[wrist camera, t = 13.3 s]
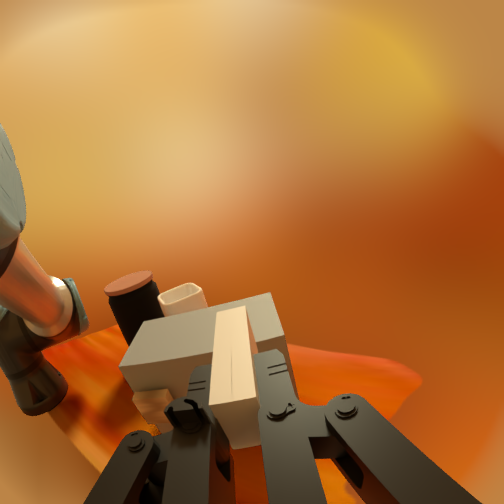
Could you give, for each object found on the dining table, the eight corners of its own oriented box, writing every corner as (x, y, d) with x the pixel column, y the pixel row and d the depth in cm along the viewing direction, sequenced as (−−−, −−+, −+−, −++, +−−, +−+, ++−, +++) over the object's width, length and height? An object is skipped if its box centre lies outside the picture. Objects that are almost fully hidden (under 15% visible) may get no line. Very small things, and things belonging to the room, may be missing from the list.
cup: (182, 360, 52) (155, 295, 48) (213, 345, 55) (190, 281, 51) (195, 377, 46) (164, 306, 42) (229, 360, 49) (204, 289, 45)
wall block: (164, 437, 32) (118, 366, 28) (175, 387, 43) (143, 321, 40) (302, 415, 32) (284, 334, 28) (287, 365, 44) (270, 292, 40)
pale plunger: (148, 424, 28) (131, 399, 27) (165, 368, 40) (153, 346, 39) (180, 421, 28) (165, 396, 27) (191, 364, 40) (180, 341, 39)
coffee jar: (191, 349, 55) (161, 271, 51) (152, 376, 48) (113, 295, 43) (165, 338, 62) (138, 269, 58) (130, 360, 55) (97, 288, 50)
